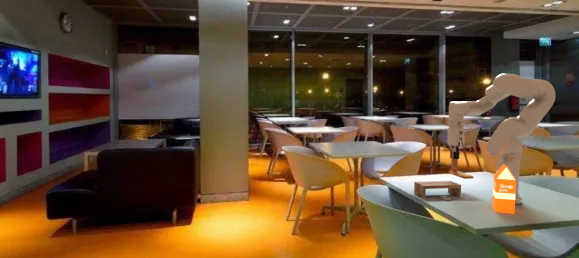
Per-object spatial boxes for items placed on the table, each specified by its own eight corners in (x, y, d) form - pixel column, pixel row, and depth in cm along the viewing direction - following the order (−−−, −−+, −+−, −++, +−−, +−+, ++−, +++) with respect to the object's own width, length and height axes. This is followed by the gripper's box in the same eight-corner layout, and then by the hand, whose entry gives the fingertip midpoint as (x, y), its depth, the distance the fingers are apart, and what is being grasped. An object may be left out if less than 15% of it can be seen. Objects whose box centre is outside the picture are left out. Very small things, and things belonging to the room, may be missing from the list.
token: (453, 201, 195) (453, 198, 195) (443, 201, 195) (443, 198, 195) (448, 198, 200) (448, 195, 200) (438, 198, 200) (438, 195, 200)
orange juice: (511, 208, 182) (513, 164, 180) (514, 213, 173) (517, 167, 172) (491, 206, 184) (493, 163, 183) (494, 211, 176) (496, 166, 175)
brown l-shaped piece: (473, 178, 206) (474, 150, 205) (464, 178, 206) (465, 151, 205) (457, 173, 221) (457, 147, 220) (448, 173, 220) (449, 147, 219)
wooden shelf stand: (460, 196, 203) (461, 184, 202) (423, 198, 200) (423, 186, 199) (450, 192, 213) (450, 180, 212) (414, 193, 210) (414, 181, 209)
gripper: (471, 125, 210) (469, 160, 212) (454, 123, 226) (453, 156, 227) (457, 125, 209) (456, 160, 211) (441, 123, 225) (440, 156, 226)
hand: (454, 158), depth 219 cm, fingers closed on brown l-shaped piece
